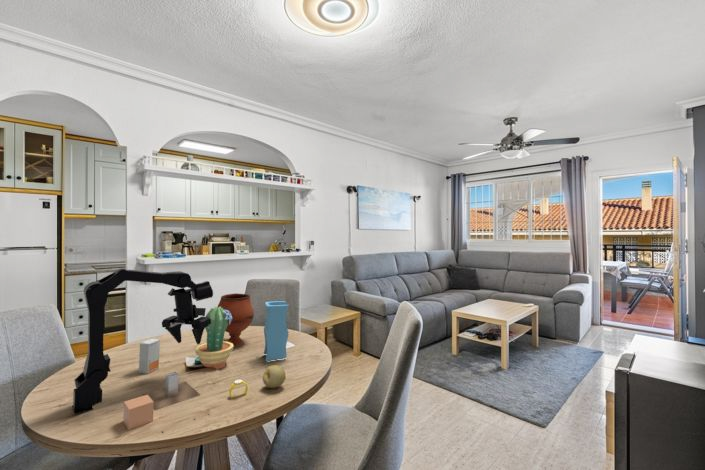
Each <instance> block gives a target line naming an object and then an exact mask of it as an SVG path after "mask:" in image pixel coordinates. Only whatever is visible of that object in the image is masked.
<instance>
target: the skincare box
mask: <svg viewBox="0 0 705 470" xmlns="http://www.w3.org/2000/svg"><path fill="white" fill-rule="evenodd" d="M160 346H161V339H158V338H157V339H156V338H151V339H147V340H145V341H143V342H140V343H139V355H138V356H139V358H138V373H139V374H146V375H147V374H149V373H151V372H153V371H156V370H157V369H159V368H160V367H159V365H160V351H161V350H160V348H161V347H160Z"/></svg>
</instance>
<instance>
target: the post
mask: <svg viewBox="0 0 705 470" xmlns="http://www.w3.org/2000/svg"><path fill="white" fill-rule="evenodd" d="M178 384H179V373H178V372H177V371H172V372H169V373H166V374H165V387H164V388H165V395H166V396H167V397H168V398H169V397H172V396H176V395H178Z"/></svg>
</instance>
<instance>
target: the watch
mask: <svg viewBox="0 0 705 470" xmlns="http://www.w3.org/2000/svg"><path fill="white" fill-rule="evenodd" d="M240 385H244V386H245V391H244V392H243V394H244V395H247V393H248V391H249V389H248V385H247V384H246V382H245V381H244V380H242V379H236V380H234V382H233V383H232V384H231V385H230V386H229V390H228V395H229V397H230V398H231V399H233V395H232V390H233V388H234V387H235V386H240Z"/></svg>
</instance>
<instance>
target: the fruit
mask: <svg viewBox="0 0 705 470" xmlns="http://www.w3.org/2000/svg"><path fill="white" fill-rule="evenodd" d="M262 375H263V376H262V382H263V384H264V385H265V386H266V387H267V388H270V389H277V388H279V387H281V386H282V385H283V384H284V382H285V380H286V376H287V375H286V372H285V370H284V369H283V367H281V366H280V365H270V366H268V367H267V368H266V369H265V370H264V372H263V374H262Z"/></svg>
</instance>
